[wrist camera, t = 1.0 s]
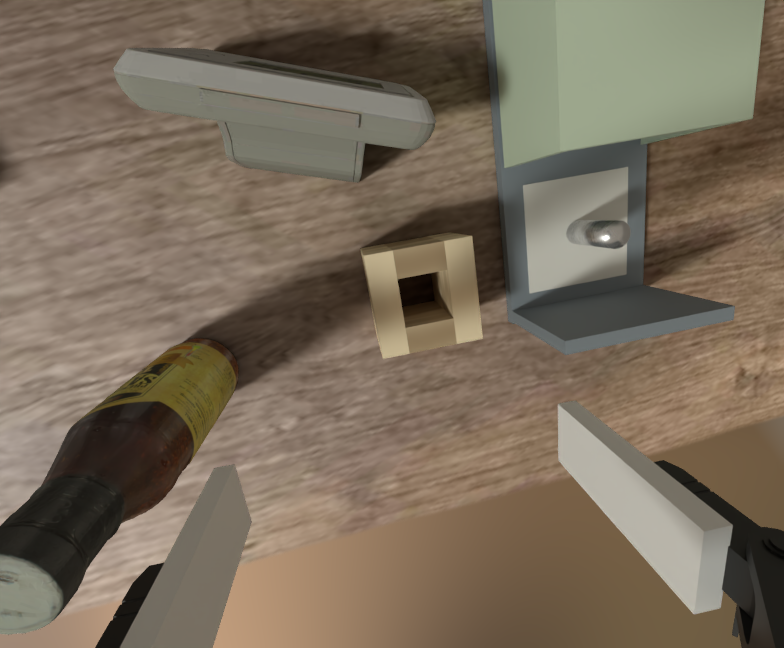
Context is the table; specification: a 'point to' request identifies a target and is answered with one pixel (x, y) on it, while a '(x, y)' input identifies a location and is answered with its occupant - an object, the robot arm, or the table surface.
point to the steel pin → (599, 233)
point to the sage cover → (621, 70)
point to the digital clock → (279, 108)
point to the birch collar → (431, 319)
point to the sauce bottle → (109, 477)
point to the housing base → (580, 262)
